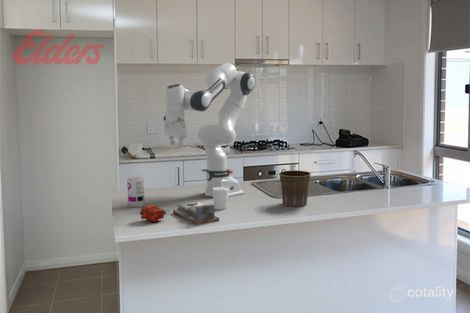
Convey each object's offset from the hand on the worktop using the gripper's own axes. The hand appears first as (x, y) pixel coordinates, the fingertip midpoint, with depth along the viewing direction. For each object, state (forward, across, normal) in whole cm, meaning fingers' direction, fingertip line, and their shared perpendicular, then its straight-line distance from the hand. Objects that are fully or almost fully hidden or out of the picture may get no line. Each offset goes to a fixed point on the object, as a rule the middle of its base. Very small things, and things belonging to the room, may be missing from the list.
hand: (176, 145), depth 233 cm
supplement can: (+31, +14, +17) cm, 38 cm away
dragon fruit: (+31, -18, +20) cm, 41 cm away
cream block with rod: (+29, -25, +2) cm, 39 cm away
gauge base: (+31, -22, +1) cm, 38 cm away
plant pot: (+31, -28, -52) cm, 67 cm away
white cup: (+31, -14, -17) cm, 38 cm away
